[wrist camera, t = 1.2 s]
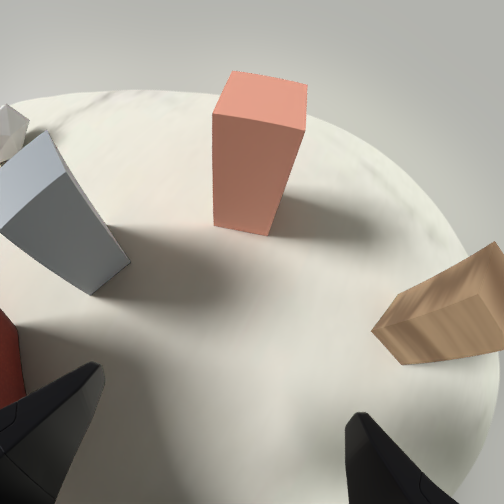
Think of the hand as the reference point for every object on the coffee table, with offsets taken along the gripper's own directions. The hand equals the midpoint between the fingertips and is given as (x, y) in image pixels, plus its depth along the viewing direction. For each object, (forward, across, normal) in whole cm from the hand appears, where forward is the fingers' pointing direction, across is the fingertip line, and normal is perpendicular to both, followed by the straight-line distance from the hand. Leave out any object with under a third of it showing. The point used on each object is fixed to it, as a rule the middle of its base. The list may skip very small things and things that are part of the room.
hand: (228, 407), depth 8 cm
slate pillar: (+15, +14, +4) cm, 20 cm away
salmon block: (+20, +1, -2) cm, 21 cm away
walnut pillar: (+14, -16, +4) cm, 22 cm away
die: (+23, +37, -4) cm, 44 cm away
